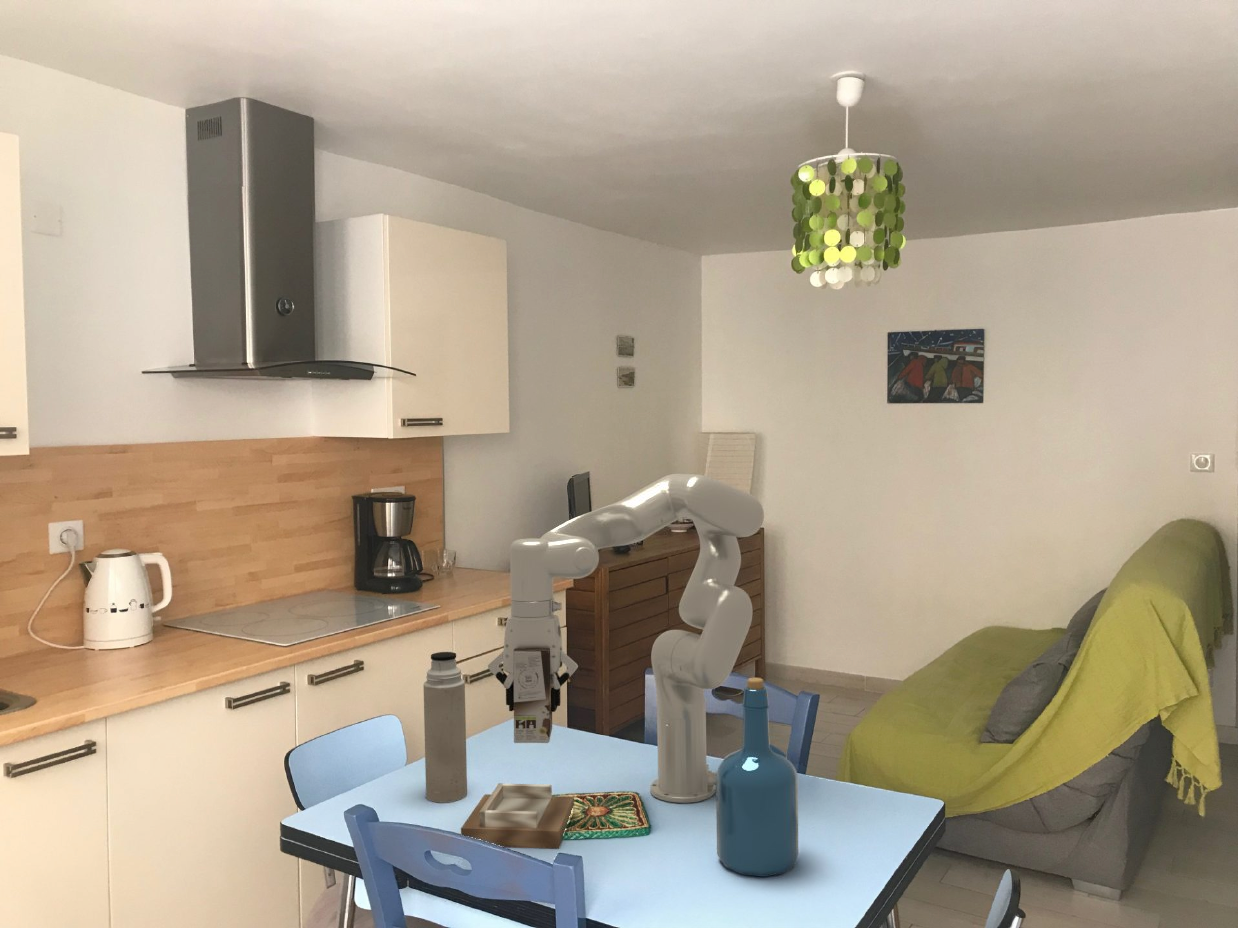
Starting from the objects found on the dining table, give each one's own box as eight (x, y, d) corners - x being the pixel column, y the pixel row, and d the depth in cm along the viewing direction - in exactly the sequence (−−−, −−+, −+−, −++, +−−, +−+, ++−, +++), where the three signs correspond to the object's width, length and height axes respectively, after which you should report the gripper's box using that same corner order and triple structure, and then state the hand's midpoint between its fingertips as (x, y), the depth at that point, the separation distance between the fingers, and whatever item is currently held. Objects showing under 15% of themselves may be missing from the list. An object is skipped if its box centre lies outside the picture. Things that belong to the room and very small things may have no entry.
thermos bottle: (438, 786, 197) (435, 647, 196) (474, 790, 195) (471, 650, 194) (418, 800, 190) (414, 656, 189) (454, 804, 187) (451, 659, 186)
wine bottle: (779, 886, 151) (777, 693, 150) (703, 867, 158) (700, 683, 157) (812, 853, 162) (809, 674, 162) (739, 837, 169) (736, 665, 169)
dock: (574, 812, 182) (573, 783, 182) (558, 848, 166) (558, 816, 166) (484, 809, 184) (484, 780, 184) (461, 845, 168) (460, 813, 168)
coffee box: (550, 743, 168) (549, 650, 168) (513, 743, 168) (511, 650, 168) (553, 727, 178) (552, 639, 177) (518, 728, 178) (517, 639, 177)
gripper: (583, 605, 176) (584, 704, 176) (488, 605, 177) (489, 703, 178) (578, 613, 168) (579, 716, 168) (478, 612, 170) (480, 714, 170)
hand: (533, 708), depth 173 cm, fingers closed on coffee box, 6 cm apart
